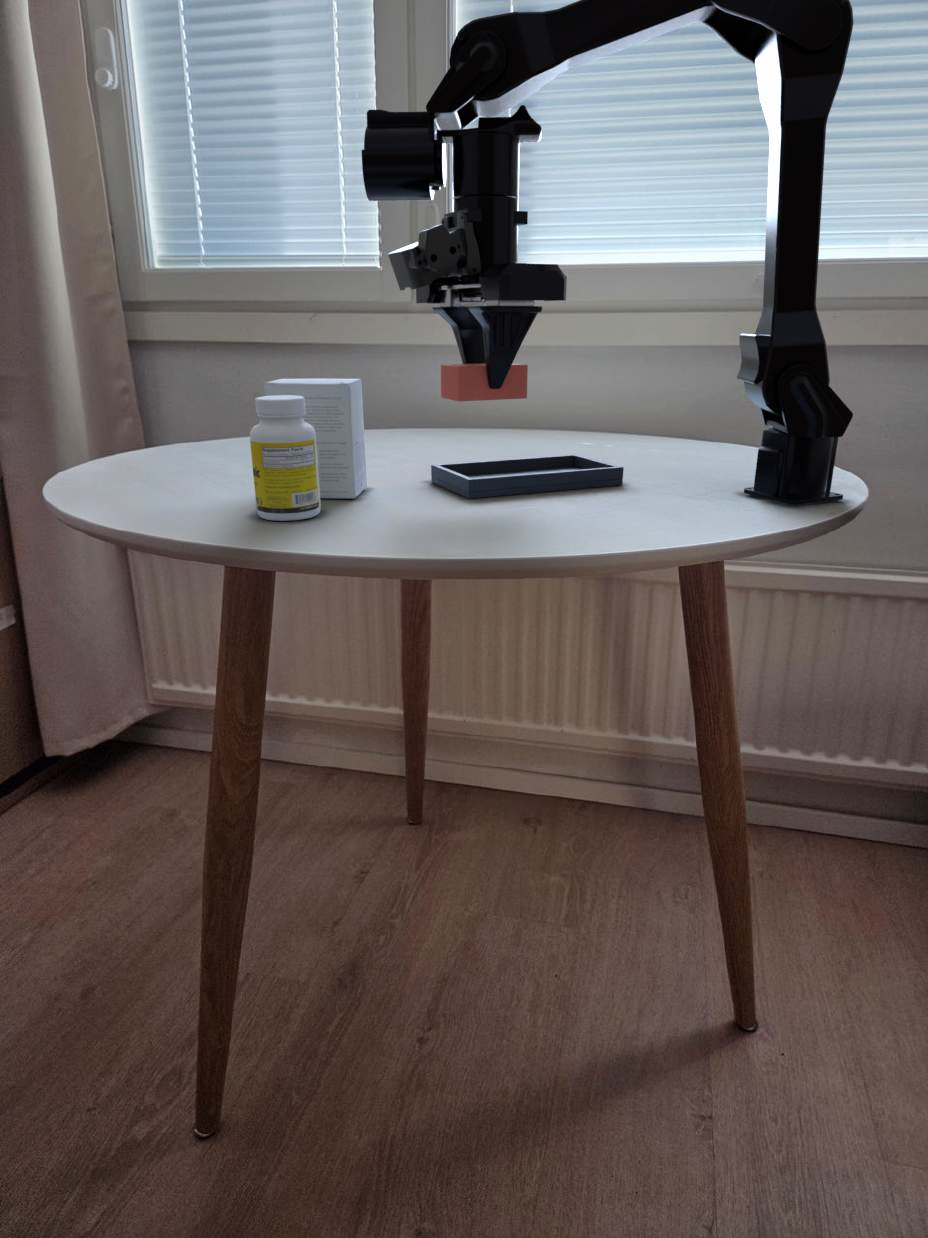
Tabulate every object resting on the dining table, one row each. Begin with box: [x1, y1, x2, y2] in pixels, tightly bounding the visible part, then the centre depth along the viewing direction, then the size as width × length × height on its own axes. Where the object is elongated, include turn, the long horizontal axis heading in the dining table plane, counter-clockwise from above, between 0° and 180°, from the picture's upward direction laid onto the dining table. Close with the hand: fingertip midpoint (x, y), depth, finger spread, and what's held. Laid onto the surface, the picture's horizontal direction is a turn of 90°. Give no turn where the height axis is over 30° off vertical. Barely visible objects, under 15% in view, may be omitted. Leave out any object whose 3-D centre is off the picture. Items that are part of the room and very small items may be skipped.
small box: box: [263, 377, 368, 500], centre depth 79 cm, size 8×6×10 cm
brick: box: [440, 362, 529, 402], centre depth 78 cm, size 7×4×3 cm, turn 115°
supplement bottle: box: [249, 395, 322, 522], centre depth 70 cm, size 5×5×10 cm
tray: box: [430, 453, 624, 500], centre depth 86 cm, size 17×9×2 cm, turn 114°
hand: (484, 386), depth 78 cm, fingers closed on brick, 4 cm apart
